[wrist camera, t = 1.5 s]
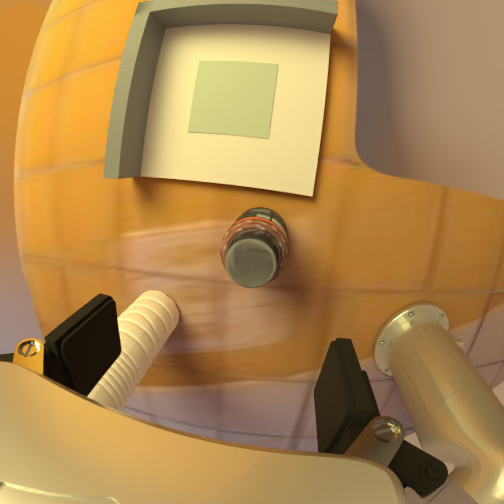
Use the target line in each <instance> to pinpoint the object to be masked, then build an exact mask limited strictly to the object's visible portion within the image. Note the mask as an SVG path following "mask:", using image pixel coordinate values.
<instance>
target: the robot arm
mask: <svg viewBox="0 0 504 504" xmlns="http://www.w3.org/2000/svg"><path fill="white" fill-rule="evenodd" d="M45 340H46V343H45V344H43V343H42V341H40V340H39V339H36V338H28V339H24V340H22V341H21V342H19V343H18V344H17V346H16V347H15V351H14V353H10V354H1V355H0V504H504V407H503V405H502V404H501V403H500V401H499V400H498V398H497V397H496V396H495V394H494V393H493V391H492V390H491V388H490V387H489V385H488V384H487V383H486V382H485V380H484V379H483V377H482V376H481V375H480V373H479V372H478V371H477V369H476V368H475V367H474V365H473V364H472V363H471V361H470V360H469V359H468V357H467V356H466V355H465V354H464V352H463V351H462V350H461V348H463V346H464V341H463V340H455V339H454V338H453V337H452V336H451V334H450V333H449V320H448V317H447V315H446V313H445V312H444V311H443V310H442V309H441V308H440V307H438V306H437V305H435V304H432V303H425V302H424V303H417V304H413V305H410V306H408V307H406V308H404V309H402V310H400V311H399V312H397V313H396V314H395V315H393V316H392V317H391V318H390V319H389V320H388V321H387V322H386V323H385V325H384V326H383V327H382V329H381V330H380V332H379V333H378V335H377V338H376V340H375V343H374V347H373V356H374V360H375V363H376V365H377V367H378V368H379V370H380V371H381V372H383V373H384V374H386V375H389V376H393V377H394V379H395V382H396V384H397V387H398V389H399V391H400V394H401V396H402V399H403V401H404V403H405V406H406V408H407V411H408V413H409V416H410V419H411V421H412V424H413V426H414V429H415V432H416V435H417V437H418V440H419V442H420V445H421V447H422V449H423V451H422V450H421V449H419V448H417V447H415V446H414V445H412V444H410V443H409V442H407V441H405V440H404V437H405V429H404V427H403V425H402V424H401V423H400V422H399V421H398V420H396V419H395V418H392V417H390V416H380V413H379V410H378V406H377V403H376V400H375V397H374V394H373V391H372V388H371V385H370V381H369V378H368V376H367V373H366V371H364V370H361V367H360V364H359V361H358V358H357V355H356V352H355V349H354V346H353V344H352V341H351V339H345V338H337V339H336V340H335V341H331V343H330V346H329V349H328V352H327V355H326V358H325V361H324V364H323V367H322V369H321V372H320V375H319V378H318V380H317V383H316V386H315V389H314V401H315V413H316V426H317V440H318V452H308V451H294V450H283V449H274V448H266V447H258V446H251V445H244V444H238V443H232V442H227V441H222V440H217V439H212V438H207V437H203V436H199V435H195V434H191V433H187V432H183V431H179V430H176V429H172V428H169V427H165V426H162V425H159V424H155V423H152V422H149V421H146V420H143V419H140V418H138V417H135V416H132V415H129V414H127V413H124V412H121V411H119V410H116V409H114V408H111V407H109V406H106V405H104V404H102V403H99V402H97V401H95V400H93V399H90V398H88V397H87V396H88V395H89V394H90V392H91V391H92V390H93V389H94V387H95V386H96V385H97V383H98V382H99V381H100V380H101V378H102V377H103V376H104V375H105V373H106V372H107V371H108V369H109V368H110V367H111V366H112V364H113V363H114V362H115V361H116V359H117V358H118V357H119V356H120V354H121V350H122V347H121V341H120V334H119V327H118V320H117V311H116V303H115V301H114V300H113V298H112V297H111V296H108V295H104V294H98V295H97V296H96V297H94V298H93V299H92V300H90V301H89V302H88V303H87V304H85V305H84V306H83V307H81V308H80V309H79V310H78V311H76V312H75V313H74V314H73V315H71V316H70V317H69V318H68V319H66V320H65V321H64V322H63V323H61V324H60V325H59V326H58V327H57V328H55V329H54V330H53V331H52V332H50V333H49V334H48V335H47V336H46V337H45ZM442 461H443V462H448V463H452V464H454V466H455V468H454V470H453V471H452V472H451V473H450V474H448V470H447V467H446V465H445V464H444V463H443V462H442Z"/></svg>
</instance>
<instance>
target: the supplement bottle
mask: <svg viewBox="0 0 504 504" xmlns="http://www.w3.org/2000/svg"><path fill="white" fill-rule="evenodd" d="M220 255H221V260H222V263H223V265H224V268H225V269H226V271H227V273H228V275H229V276H230V278H231V279H232V280H233V281H234V282H235V283H237V284H238V285H241V286H243V287H247V288H257V287H260V286H263V285H265V284H267V283H269V282H271V281H273V280H275V279H276V278H277V277H278V276H279V275H280V274H281V273H282V271H283V270H284V268H285V266H286V263H287V260H288V240H287V230H286V226H285V224H284V222H283V220H282V218H281V217H280V216H279V215H278V214H277V213H276V212H274V211H273V210H271V209H268V208H263V207H257V208H252V209H250V210H247V211H246V212H244V213H243V214H242V215H241V216H240V217H239V218H238V219H237V220H236V221H235V223H234V224H233V225H232V226H231V227H230V228H229V230H228V231H227V232H226V234H225V235H224V237H223V240H222V243H221V248H220Z"/></svg>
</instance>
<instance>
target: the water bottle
mask: <svg viewBox="0 0 504 504" xmlns="http://www.w3.org/2000/svg"><path fill="white" fill-rule="evenodd" d="M117 320H118V327H119V334H120V341H121V347H122V350H121V354H120V356H119V357H118V358H117V359H116V361H115V362H114V363H113V364H112V366H111V367H110V368H109V369H108V371H107V372H106V373H105V375H104V376H103V377H102V378H101V380H100V381H99V382H98V383H97V385H96V386H95V387H94V389H93V390H92V391H91V392H90V394H89V395H88V396H87V397H88V398H90V399H93V400H95V401H97V402H99V403H102V404H104V405H106V406H109V407H111V408H114V409H116V410H119V411H121V410H122V409H123V407H124V405H125V404H126V402H127V401H128V399H129V398H130V396H131V394H132V393H133V391H134V390H135V388H136V387H137V385H138V383H139V382H140V381H141V379H142V378H143V376H144V375H145V373H146V371H147V369H148V368H149V367H150V365H151V364H152V362H153V360H154V359H155V357H156V356H157V355H158V353H159V351H160V349H161V348H162V347H163V345H164V344H165V342H166V341H167V339H168V338H169V336H170V334H171V333H172V332H173V330H174V329H175V327H176V326H177V324H178V321H179V311H178V308H177V307H176V304H175V302H174V301H173V300H172V299H171V298H170V297H169V296H167V295H166V294H165V293H163V292H160V291H153V290H151V291H147V292H145V293H143V294H142V295H141V296H140V297H139V298H137V299H136V301H135V302H134V303H132V304H131V305H130V306H129V307H128V309H127V310H125V311H124V312H123V313H122V314H121V315H120V316H119V317H118V318H117Z"/></svg>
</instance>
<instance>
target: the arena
mask: <svg viewBox="0 0 504 504" xmlns="http://www.w3.org/2000/svg"><path fill="white" fill-rule="evenodd" d="M337 15H338V1H333V0H150V1H145V2H140V3H139V4H138V7H137V10H136V13H135V16H134V19H133V22H132V25H131V28H130V31H129V34H128V38H127V41H126V45H125V48H124V52H123V56H122V60H121V64H120V68H119V73H118V77H117V82H116V87H115V92H114V97H113V103H112V109H111V115H110V122H109V129H108V137H107V146H106V156H105V168H104V178H115V179H120V178H130V177H140V176H141V177H156V178H169V179H181V180H192V181H203V182H212V183H221V184H230V185H238V186H246V187H253V188H261V189H268V190H275V191H281V192H288V193H294V194H300V195H307V196H313V189H314V183H315V176H316V169H317V162H318V155H319V148H320V140H321V132H322V124H323V115H324V106H325V97H326V87H327V76H328V64H329V51H330V37H331V32H332V29H333V26H334V23H335V20H336V17H337Z"/></svg>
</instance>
